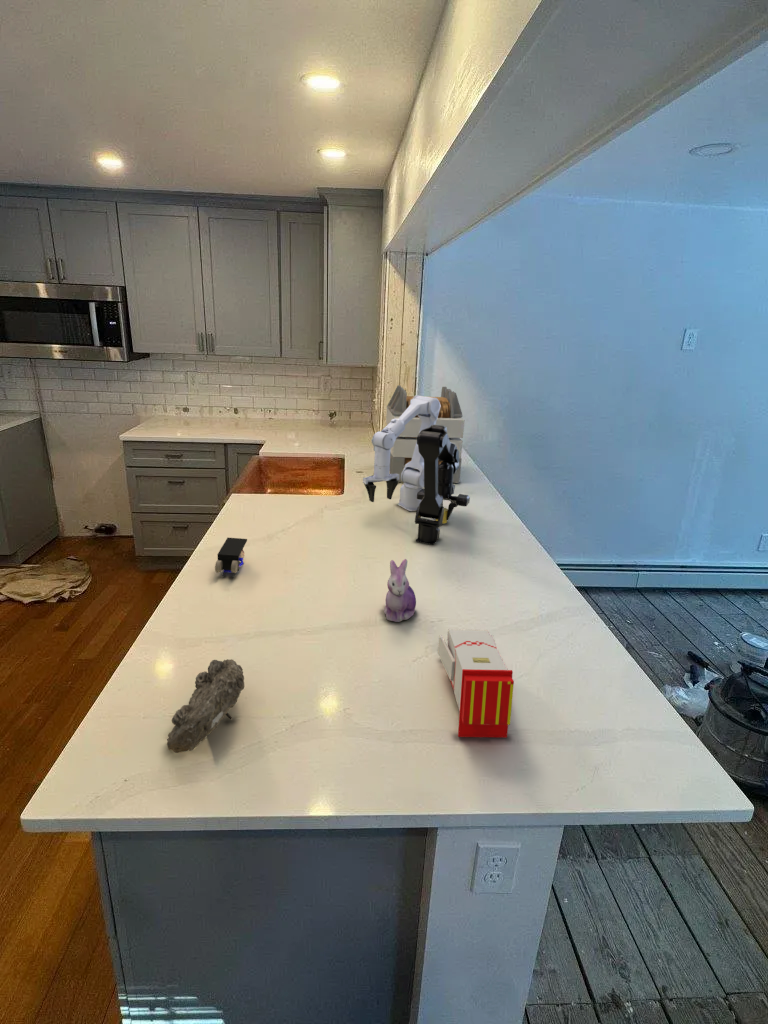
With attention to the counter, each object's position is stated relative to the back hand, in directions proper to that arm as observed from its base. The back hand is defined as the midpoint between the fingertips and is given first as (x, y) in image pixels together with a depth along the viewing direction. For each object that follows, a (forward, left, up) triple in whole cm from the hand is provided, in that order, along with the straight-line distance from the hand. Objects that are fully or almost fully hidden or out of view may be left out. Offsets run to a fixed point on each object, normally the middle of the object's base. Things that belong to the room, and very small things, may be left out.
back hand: (380, 499), depth 211 cm
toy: (+97, -36, -7) cm, 104 cm away
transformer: (-45, +50, -7) cm, 68 cm away
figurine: (+64, -32, -7) cm, 71 cm away
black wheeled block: (+19, -62, -7) cm, 65 cm away
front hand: (+14, +18, -6) cm, 24 cm away
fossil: (+80, -85, -7) cm, 117 cm away
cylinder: (+14, +18, -7) cm, 24 cm away
